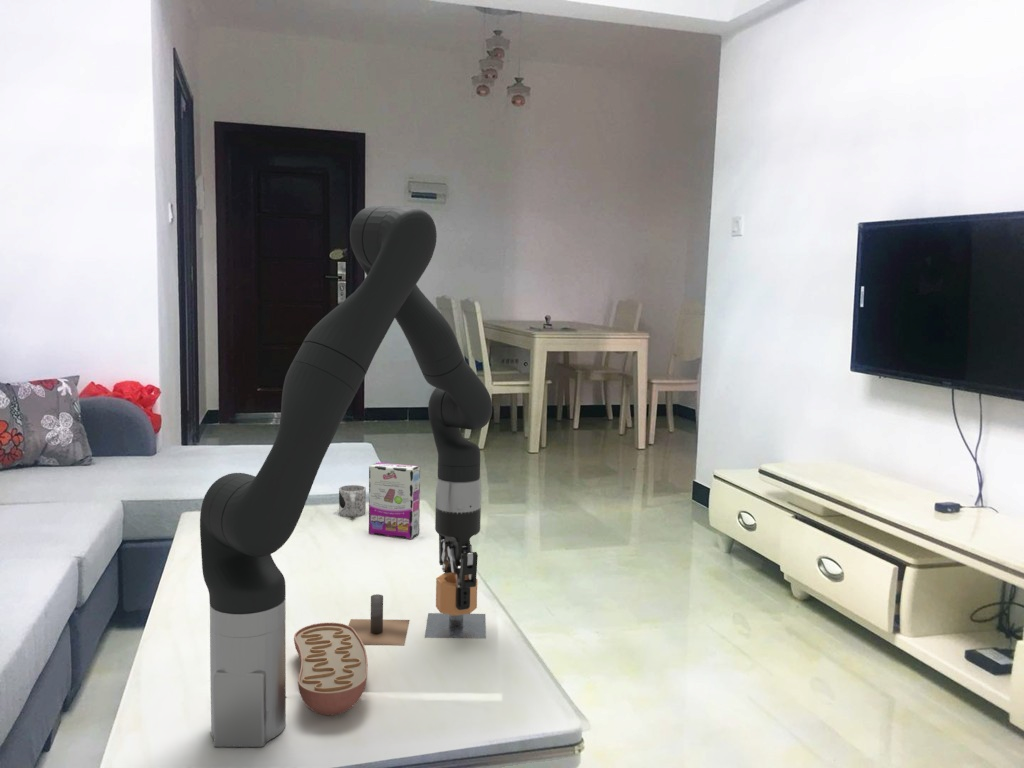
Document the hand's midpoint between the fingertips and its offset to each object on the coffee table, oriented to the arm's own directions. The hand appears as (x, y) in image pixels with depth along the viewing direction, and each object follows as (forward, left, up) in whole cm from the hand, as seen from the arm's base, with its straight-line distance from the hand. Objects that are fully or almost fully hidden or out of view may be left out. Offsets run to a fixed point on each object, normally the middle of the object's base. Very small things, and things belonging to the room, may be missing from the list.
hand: (456, 600), depth 137 cm
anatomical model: (-20, +17, -6) cm, 27 cm away
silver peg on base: (0, 0, -5) cm, 5 cm away
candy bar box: (+54, +16, -5) cm, 56 cm away
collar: (0, 0, -1) cm, 1 cm away
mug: (+69, +28, -6) cm, 75 cm away
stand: (-3, +13, -5) cm, 14 cm away
